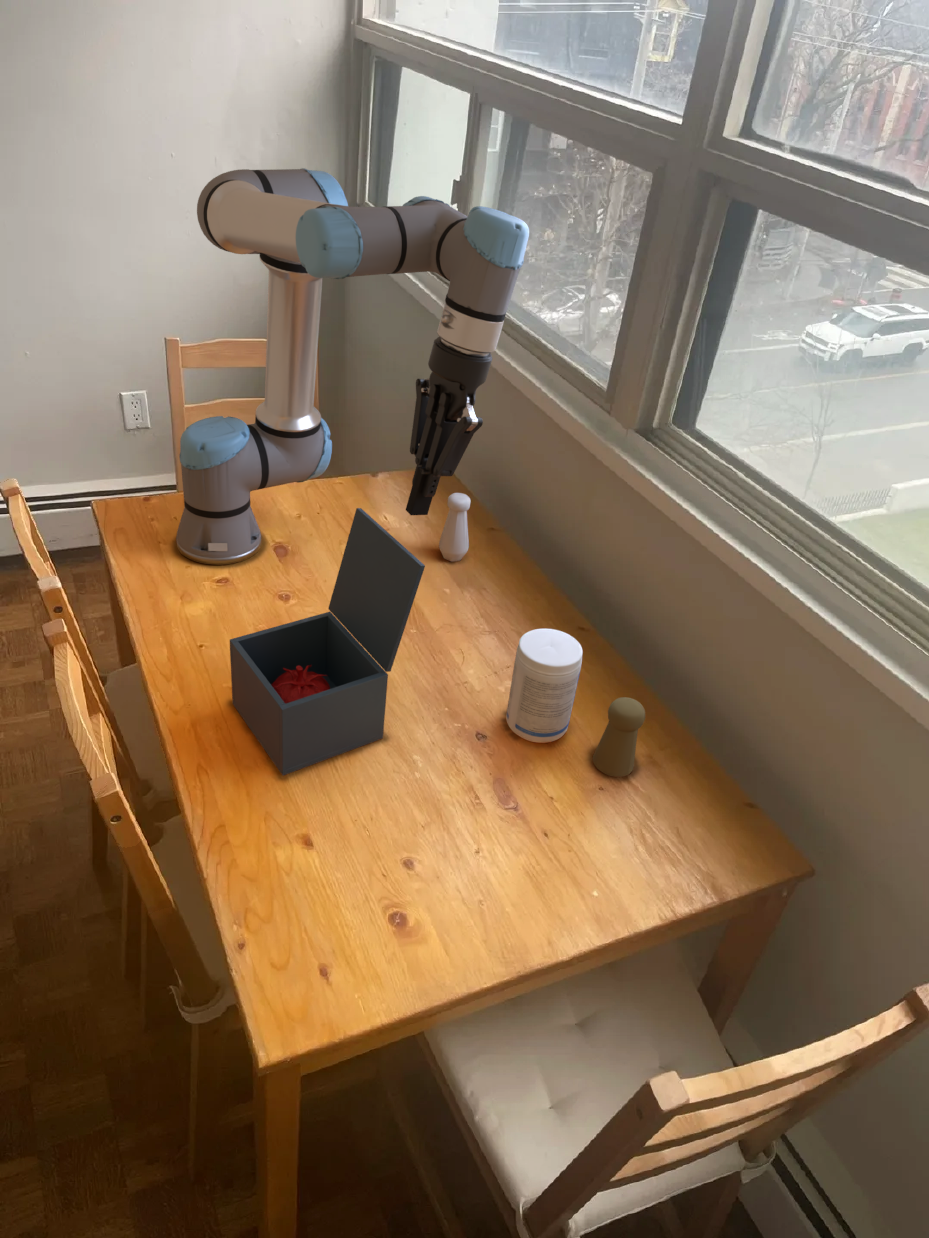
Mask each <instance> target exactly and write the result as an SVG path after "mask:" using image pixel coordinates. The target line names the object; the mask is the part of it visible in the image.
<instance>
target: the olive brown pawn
mask: <svg viewBox="0 0 929 1238" xmlns="http://www.w3.org/2000/svg"><path fill="white" fill-rule="evenodd" d="M607 720H608V722H607V724H606V727H605V729H604V731H603V733H602V735H601V738H600V740H599V742H598V745H597V746H596V748H595V751H594V753H593V755H592V762H593V765H594V766H595V768H596V769H597V770H598V771H600V772H601V773H603V774H604V775H607V776H609V777H614V778H615V777H616V778H621V777H626V776H628V775H629V774H631V773H632V772H633V770H634V767H635V757H636V748H637V742H638V735H639V734H638V732H639V729H640V728H641V727H642V726H643V725H644V723H645V720H646V710H645V708H644V706H643V705H642V704H641V702H640V701H638V700H637V699H635V698H631V697H625V696H624V697H623V696H622V697H618V698H616V699H615V700H613V701H612V702H611V703H610V705H609V706H608V709H607Z"/></svg>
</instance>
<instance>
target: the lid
mask: <svg viewBox="0 0 929 1238" xmlns="http://www.w3.org/2000/svg"><path fill="white" fill-rule="evenodd" d="M355 508H356V507H355ZM425 568H426V565H425V564H424V563H423V562H422V561H421V560H420V559H418V558H417V556H415V555H414V554H413V553H412V552H411V551H410V550H408V549H407V547H405V546H404V545H403V544H402V543H401V542H400V541H398V540H397V539H396V538H395V537H394V536H393V535H392V534H390V533H389V532H388V531H387V530H386V529H385V528H384V527H382V525H380V523H378V522H377V521H376V520H375V519H374V518H373V517H372V516H370V515H369V514H368V513H367V512H366V511H365V510H364V509H362V508H361V507H357V508H356V509H355V513H354V516H353V519H352V523H351V527H350V530H349V534H348V537H347V541H346V544H345V548H344V551H343V555H342V559H341V562H340V565H339V569H338V572H337V576H336V579H335V583H334V586H333V589H332V594H331V597H330V601H329V604H328V608H327V609H328V610H329V612H331V613H332V614H333V615H334V616H335V617H336V619H337V620H338V621H339V622H340V623H341V624H342V625H343V626H344V627H345V628H346V629H347V631H348V632H349V633H350V634H351V635H352V636H353V637H354V638H355V639H356V640H357V641H358V643H359V644H360V645H361V646H362V647H363V648H364V649H365V650H366V651H367V652H368V653H369V655H370V656H371V657H372V658H373V659H374V660H375V661H376V662H377V663H378V664H379V665H380V667H381V668H382V669H383V670H384V671H385V672H386V673H388V672H391V671H392V668H393V665H394V662H395V659H396V656H397V654H398V650H399V647H400V645H401V641H402V638H403V634H404V632H405V629H406V626H407V624H408V619H409V616H410V613H411V611H412V607H413V604H414V601H415V598H416V595H417V592H418V589H419V586H420V583H421V581H422V577H423V573H424V571H425Z"/></svg>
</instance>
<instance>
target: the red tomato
mask: <svg viewBox="0 0 929 1238" xmlns="http://www.w3.org/2000/svg"><path fill="white" fill-rule="evenodd" d="M309 667H311V665H310V666H306V668H305V670H304V671H303V668H302V667H301V666H299V665H298V666H296V670H289V669H285V668H284V667H283V669H284V670H285V671H287V672H285V673H283V674H282V675H280V676H279V677H278V678H277V679H276V680H275V681H274V682H273V683H272V684H271V685H272V687H273V688H274V689H275V691H276V692H277V693H278V695H279V696H280V697H281V699H282V700H283V701H284V703H285V704H286V703H289V702H292V701H295V700H298V699H301V698H304V697H307V696H310V695H314V694H317V693H320V692H323V691H326V690H329V689H330V686H329V684H328V682H327V681H326V680H325V679H324V678H323V677H322V676H328V675H321V674H317V673H315V672H307V670H308V668H309Z"/></svg>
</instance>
